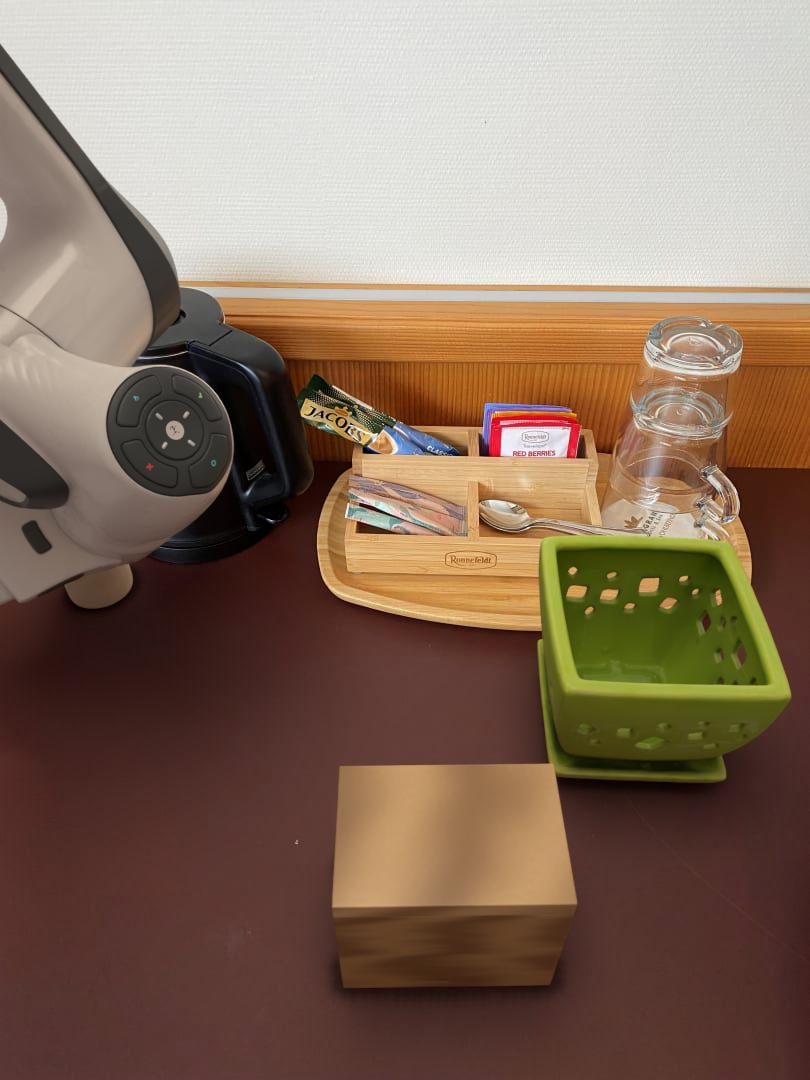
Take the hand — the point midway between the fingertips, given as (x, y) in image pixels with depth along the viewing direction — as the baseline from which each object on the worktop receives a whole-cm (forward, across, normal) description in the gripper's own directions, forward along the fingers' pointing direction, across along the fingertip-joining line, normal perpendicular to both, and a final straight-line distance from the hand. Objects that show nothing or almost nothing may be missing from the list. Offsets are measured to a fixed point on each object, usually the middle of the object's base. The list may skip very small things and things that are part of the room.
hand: (80, 538), depth 67 cm
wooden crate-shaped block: (-25, 0, +33) cm, 42 cm away
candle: (+4, 0, +4) cm, 6 cm away
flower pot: (-25, -20, +33) cm, 46 cm away
